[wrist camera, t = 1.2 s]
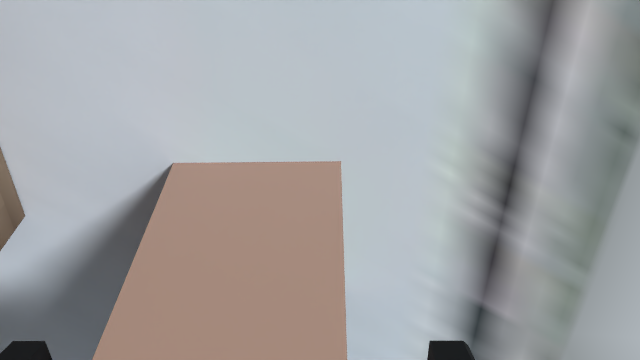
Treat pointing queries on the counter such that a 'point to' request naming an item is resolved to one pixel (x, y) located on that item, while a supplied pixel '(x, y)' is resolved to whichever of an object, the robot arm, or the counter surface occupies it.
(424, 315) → the counter surface
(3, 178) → the tray
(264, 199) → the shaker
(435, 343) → the robot arm
